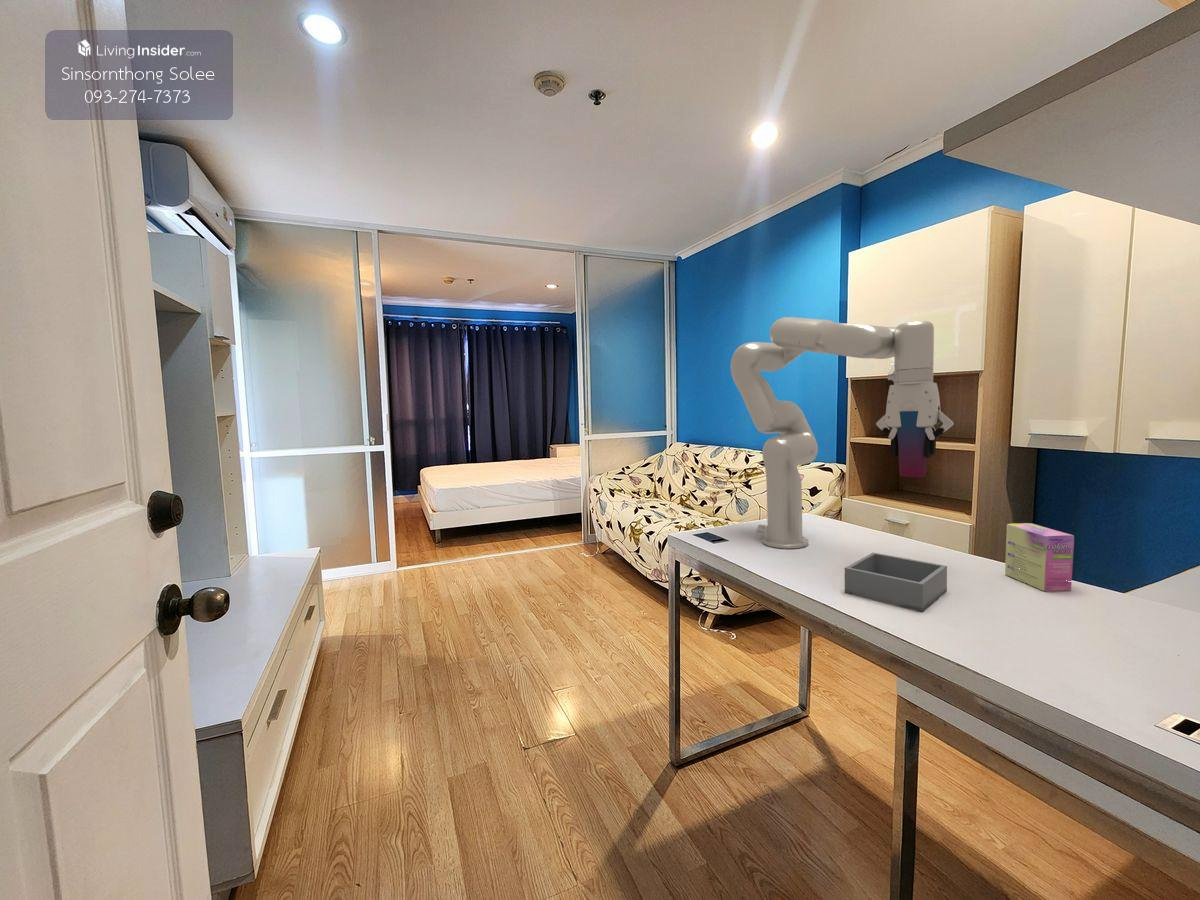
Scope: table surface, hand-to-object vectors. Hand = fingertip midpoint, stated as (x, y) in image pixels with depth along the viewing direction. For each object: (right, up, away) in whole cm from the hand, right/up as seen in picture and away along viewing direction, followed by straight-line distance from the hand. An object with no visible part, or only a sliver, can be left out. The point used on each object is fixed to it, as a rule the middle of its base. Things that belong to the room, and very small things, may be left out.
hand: (912, 455), depth 115 cm
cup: (0, -5, 0) cm, 5 cm away
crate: (-9, -29, -9) cm, 32 cm away
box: (+22, -27, -8) cm, 36 cm away
